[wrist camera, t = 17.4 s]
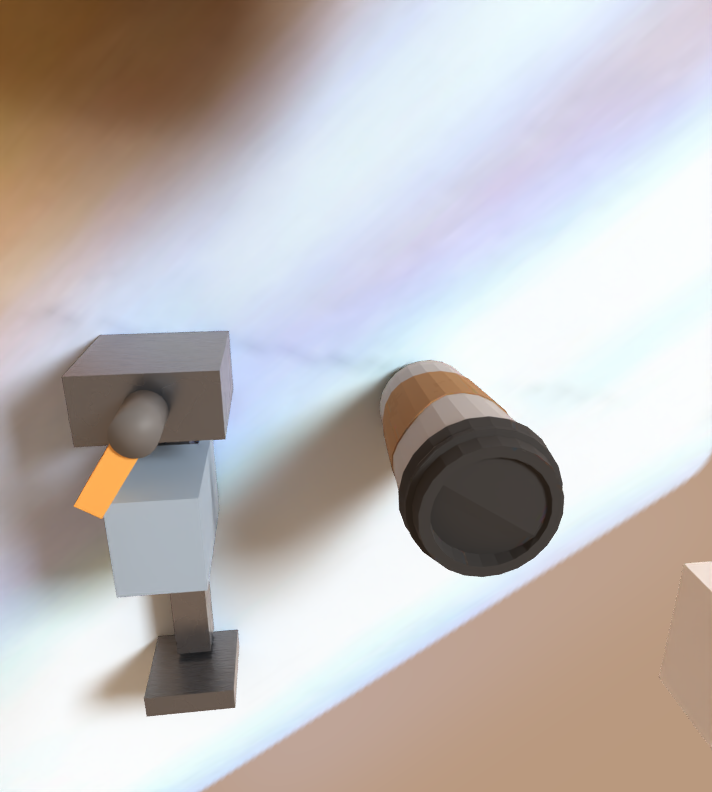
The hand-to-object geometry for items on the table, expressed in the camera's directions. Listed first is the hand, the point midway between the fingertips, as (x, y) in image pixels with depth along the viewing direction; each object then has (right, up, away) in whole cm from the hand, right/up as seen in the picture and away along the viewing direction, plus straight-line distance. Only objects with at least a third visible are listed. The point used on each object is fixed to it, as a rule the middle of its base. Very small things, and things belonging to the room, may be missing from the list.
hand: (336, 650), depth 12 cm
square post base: (-12, -14, +38) cm, 43 cm away
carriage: (-12, 0, +33) cm, 35 cm away
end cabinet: (-12, +7, +30) cm, 33 cm away
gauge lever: (-12, +2, +23) cm, 26 cm away
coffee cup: (+5, +4, +33) cm, 34 cm away
